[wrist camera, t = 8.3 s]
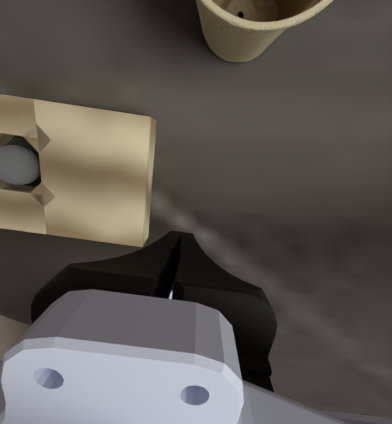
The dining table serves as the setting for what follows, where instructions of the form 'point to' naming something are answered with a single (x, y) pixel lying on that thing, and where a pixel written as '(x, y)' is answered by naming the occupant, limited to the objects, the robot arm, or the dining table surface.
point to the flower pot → (250, 24)
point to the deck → (80, 171)
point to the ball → (18, 165)
